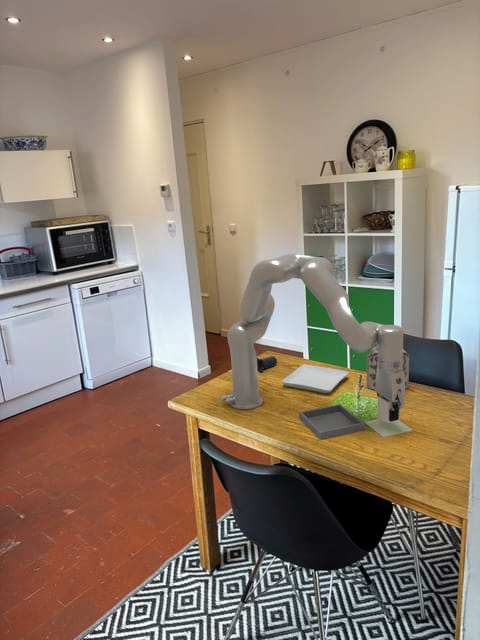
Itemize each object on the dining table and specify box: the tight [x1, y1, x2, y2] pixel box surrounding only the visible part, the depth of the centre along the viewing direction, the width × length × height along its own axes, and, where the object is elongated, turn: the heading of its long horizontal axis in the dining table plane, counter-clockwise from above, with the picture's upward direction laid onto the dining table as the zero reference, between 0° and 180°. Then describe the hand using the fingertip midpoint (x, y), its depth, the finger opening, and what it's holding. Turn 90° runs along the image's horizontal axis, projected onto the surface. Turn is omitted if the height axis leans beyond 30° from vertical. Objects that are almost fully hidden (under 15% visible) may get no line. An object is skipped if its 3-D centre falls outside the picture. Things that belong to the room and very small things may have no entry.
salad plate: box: [281, 363, 350, 394], centre depth 200 cm, size 21×21×3 cm
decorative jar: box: [366, 345, 410, 392], centre depth 189 cm, size 12×12×18 cm
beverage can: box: [257, 355, 278, 374], centre depth 219 cm, size 9×8×12 cm
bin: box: [298, 403, 366, 441], centre depth 164 cm, size 16×16×3 cm
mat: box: [363, 418, 414, 438], centre depth 161 cm, size 11×11×1 cm
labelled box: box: [377, 396, 401, 423], centre depth 159 cm, size 5×5×7 cm
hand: (388, 416), depth 159 cm, fingers closed on labelled box, 5 cm apart
